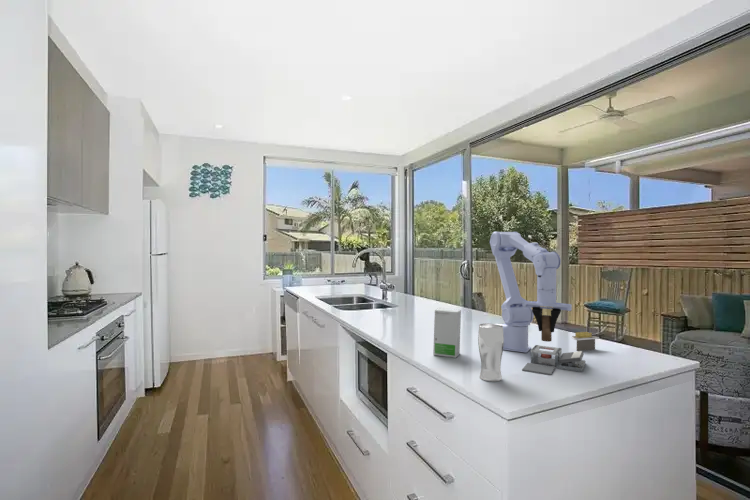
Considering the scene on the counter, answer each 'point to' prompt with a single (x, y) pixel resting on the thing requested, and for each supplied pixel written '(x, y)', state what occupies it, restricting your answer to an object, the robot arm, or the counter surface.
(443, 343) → the skincare box
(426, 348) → the counter surface
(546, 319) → the brown cylinder
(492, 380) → the beer glass
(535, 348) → the silver metal box
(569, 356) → the rocker
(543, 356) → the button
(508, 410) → the counter surface
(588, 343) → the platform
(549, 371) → the mat
